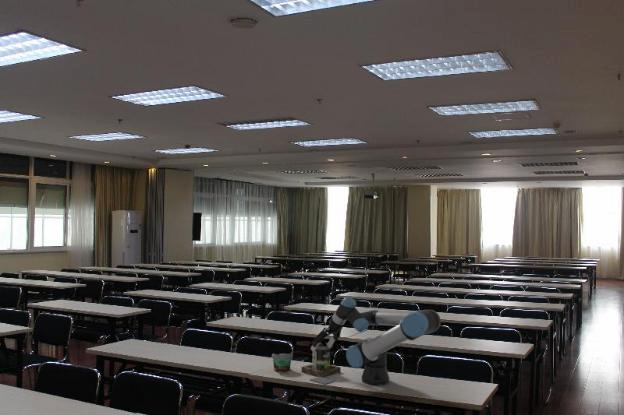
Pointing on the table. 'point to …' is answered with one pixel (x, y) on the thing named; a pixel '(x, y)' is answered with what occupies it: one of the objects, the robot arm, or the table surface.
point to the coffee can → (321, 358)
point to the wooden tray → (318, 373)
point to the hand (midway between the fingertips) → (320, 348)
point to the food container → (282, 362)
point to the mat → (322, 380)
